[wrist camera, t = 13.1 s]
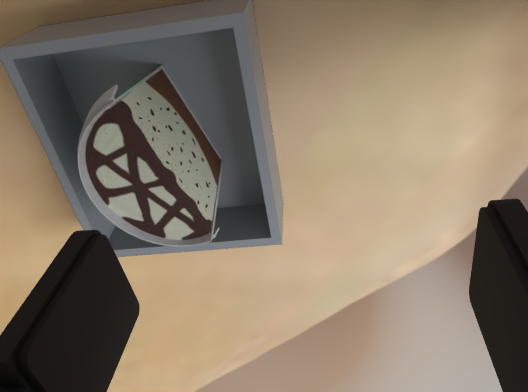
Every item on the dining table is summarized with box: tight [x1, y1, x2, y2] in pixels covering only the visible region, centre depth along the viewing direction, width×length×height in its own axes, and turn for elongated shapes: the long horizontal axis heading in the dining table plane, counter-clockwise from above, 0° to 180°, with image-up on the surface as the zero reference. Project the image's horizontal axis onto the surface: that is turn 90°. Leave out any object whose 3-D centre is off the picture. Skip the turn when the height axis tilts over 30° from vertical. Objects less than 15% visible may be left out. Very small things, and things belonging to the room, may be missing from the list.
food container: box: [77, 65, 224, 247], centre depth 33 cm, size 12×6×10 cm, turn 27°
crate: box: [0, 0, 283, 257], centre depth 35 cm, size 17×19×6 cm
